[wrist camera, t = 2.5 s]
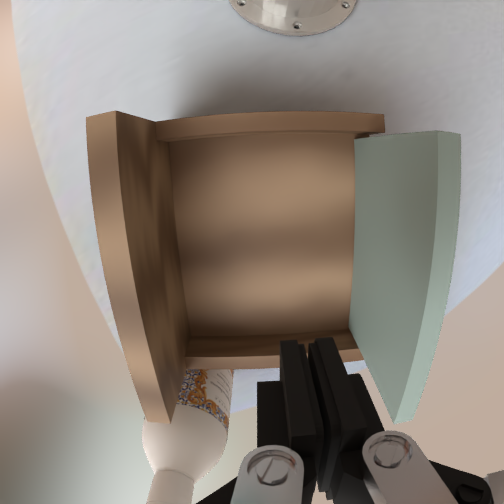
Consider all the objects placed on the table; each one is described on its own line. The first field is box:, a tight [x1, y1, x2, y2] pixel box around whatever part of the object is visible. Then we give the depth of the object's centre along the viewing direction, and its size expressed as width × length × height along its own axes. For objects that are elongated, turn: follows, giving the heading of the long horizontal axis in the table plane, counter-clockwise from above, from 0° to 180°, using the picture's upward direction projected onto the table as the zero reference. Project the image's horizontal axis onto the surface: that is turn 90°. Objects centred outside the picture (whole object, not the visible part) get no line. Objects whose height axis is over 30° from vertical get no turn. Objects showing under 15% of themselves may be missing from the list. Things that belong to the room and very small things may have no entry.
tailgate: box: [348, 131, 461, 424], centre depth 17 cm, size 15×2×11 cm, turn 3°
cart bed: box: [86, 111, 385, 424], centre depth 22 cm, size 18×16×15 cm
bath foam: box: [142, 369, 234, 504], centre depth 24 cm, size 7×7×20 cm
